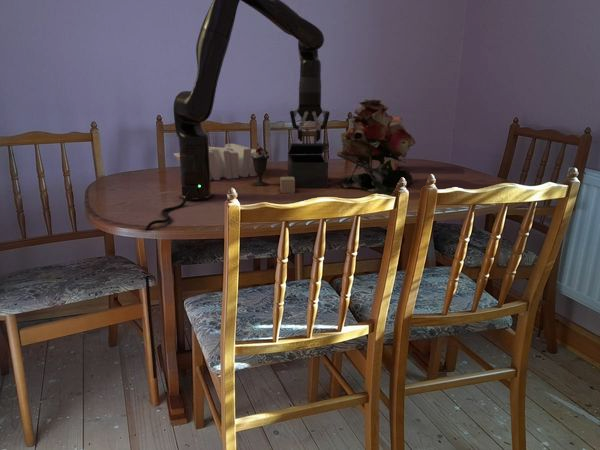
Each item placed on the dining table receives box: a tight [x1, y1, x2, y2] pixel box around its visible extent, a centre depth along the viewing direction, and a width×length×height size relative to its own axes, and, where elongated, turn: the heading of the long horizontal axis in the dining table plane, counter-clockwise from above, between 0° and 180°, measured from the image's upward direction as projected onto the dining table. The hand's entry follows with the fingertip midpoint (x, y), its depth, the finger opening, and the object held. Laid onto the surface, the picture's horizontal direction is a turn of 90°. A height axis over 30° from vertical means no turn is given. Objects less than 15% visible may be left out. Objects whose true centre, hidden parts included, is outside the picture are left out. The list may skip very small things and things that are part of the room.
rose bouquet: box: [336, 98, 416, 195], centre depth 190 cm, size 26×29×30 cm
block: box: [279, 176, 296, 194], centre depth 181 cm, size 5×5×5 cm
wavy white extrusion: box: [173, 143, 259, 182], centre depth 205 cm, size 35×16×11 cm, turn 119°
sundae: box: [251, 142, 270, 187], centre depth 190 cm, size 7×7×15 cm
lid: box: [287, 130, 330, 155], centre depth 192 cm, size 18×13×5 cm
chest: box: [287, 153, 329, 189], centre depth 194 cm, size 17×13×9 cm
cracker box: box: [384, 116, 403, 170], centre depth 217 cm, size 14×6×21 cm, turn 165°
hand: (309, 140), depth 186 cm, fingers closed on lid, 5 cm apart
